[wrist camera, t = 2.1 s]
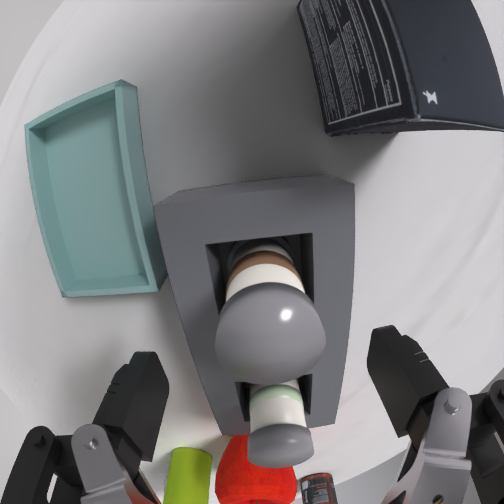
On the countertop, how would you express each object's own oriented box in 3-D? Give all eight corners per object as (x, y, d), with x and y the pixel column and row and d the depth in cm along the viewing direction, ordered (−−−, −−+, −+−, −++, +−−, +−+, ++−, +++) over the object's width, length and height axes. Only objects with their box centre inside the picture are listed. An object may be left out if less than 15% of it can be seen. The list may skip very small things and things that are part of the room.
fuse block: (177, 191, 17) (106, 237, 8) (326, 174, 17) (406, 204, 8) (225, 395, 25) (219, 481, 15) (324, 385, 24) (345, 468, 15)
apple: (234, 453, 30) (232, 518, 20) (206, 424, 27) (197, 503, 17) (297, 442, 29) (306, 510, 19) (279, 411, 26) (288, 497, 16)
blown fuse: (224, 231, 17) (204, 308, 9) (290, 224, 17) (327, 295, 9) (233, 289, 19) (225, 388, 11) (293, 282, 19) (323, 377, 10)
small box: (405, 133, 16) (516, 138, 6) (324, 137, 16) (412, 128, 6) (374, 10, 12) (447, -50, 2) (293, 5, 13) (328, -87, 3)
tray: (43, 124, 15) (24, 125, 13) (136, 86, 15) (121, 79, 12) (77, 283, 20) (62, 297, 18) (167, 275, 20) (158, 291, 17)
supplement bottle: (294, 478, 35) (299, 529, 24) (324, 469, 33) (333, 521, 23) (308, 484, 36) (314, 530, 26) (336, 475, 35) (345, 522, 25)
